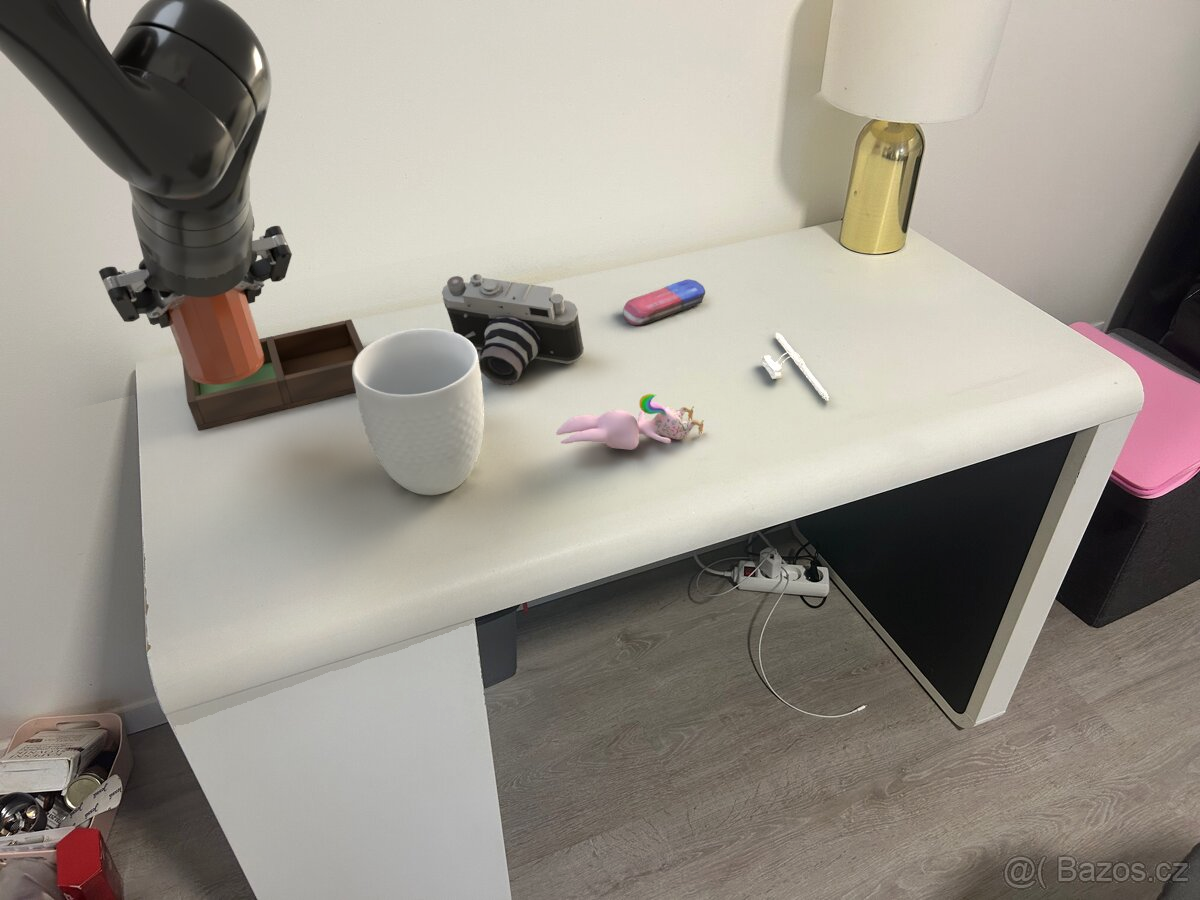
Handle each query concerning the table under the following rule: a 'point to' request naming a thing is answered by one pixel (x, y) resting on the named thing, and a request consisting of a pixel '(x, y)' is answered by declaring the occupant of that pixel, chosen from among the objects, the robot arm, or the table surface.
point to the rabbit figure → (630, 426)
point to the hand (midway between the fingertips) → (204, 304)
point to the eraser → (663, 302)
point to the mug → (422, 407)
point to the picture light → (775, 367)
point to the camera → (513, 324)
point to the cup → (217, 338)
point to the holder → (282, 376)
